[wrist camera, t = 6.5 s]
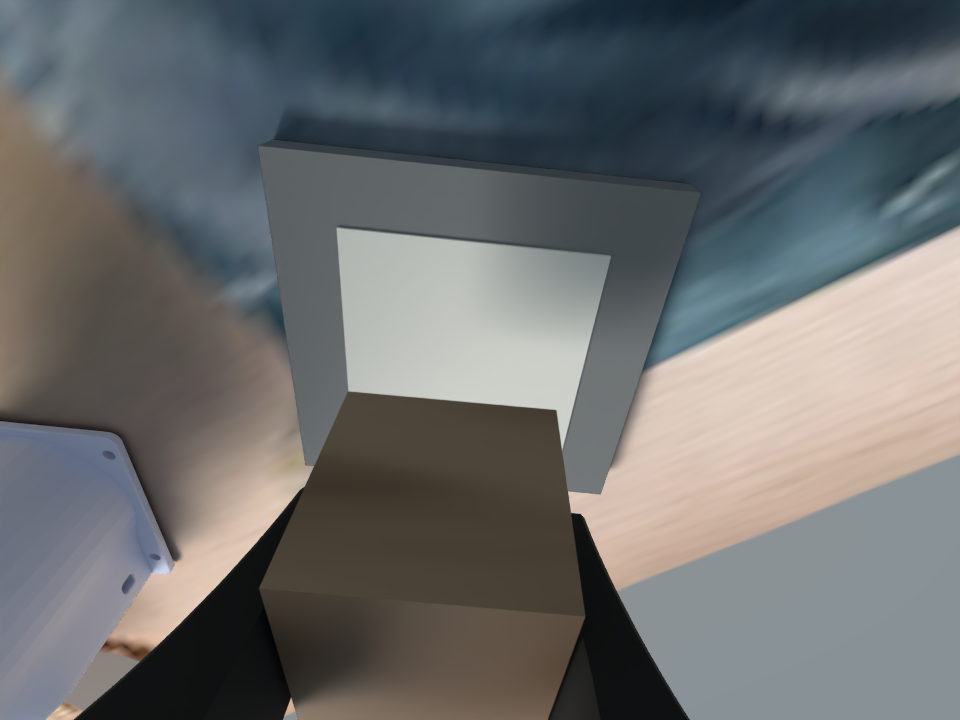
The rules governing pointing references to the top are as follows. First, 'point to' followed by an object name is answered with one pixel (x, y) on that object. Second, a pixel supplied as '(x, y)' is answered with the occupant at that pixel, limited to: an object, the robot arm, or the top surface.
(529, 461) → the walnut block
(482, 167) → the mat
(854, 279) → the top surface
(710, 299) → the top surface
